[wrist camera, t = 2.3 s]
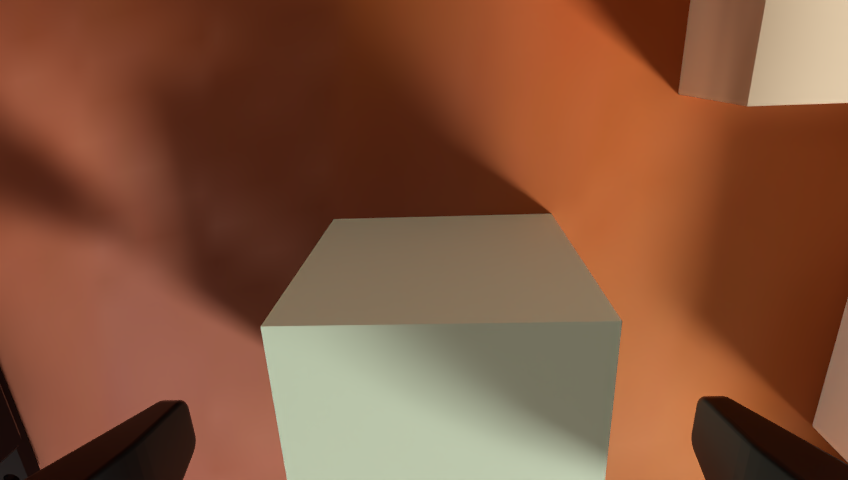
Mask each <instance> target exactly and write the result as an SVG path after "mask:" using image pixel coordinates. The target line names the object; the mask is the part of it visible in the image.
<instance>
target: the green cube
mask: <svg viewBox="0 0 848 480" xmlns="http://www.w3.org/2000/svg"><path fill="white" fill-rule="evenodd" d="M621 327H622V320H621V319H620V317H619V316H618V314H617V313H616V311H615V310H614V308H613V307H612V305H611V304H610V302H609V301H608V299H607V297H606V296H605V294H604V293H603V291H602V290H601V288H600V287H599V285H598V284H597V282H596V281H595V279H594V278H593V276H592V275H591V273H590V272H589V270H588V269H587V267H586V266H585V264H584V263H583V261H582V259H581V258H580V256H579V255H578V253H577V252H576V250H575V249H574V247H573V246H572V244H571V243H570V241H569V240H568V238H567V237H566V235H565V234H564V232H563V231H562V229H561V228H560V226H559V225H558V223H557V221H556V220H555V218H554V217H553V215H552V214H513V215H474V216H435V217H396V218H357V219H333V221H332V222H331V224H330V225H329V227H328V228H327V230H326V231H325V233H324V234H323V236H322V237H321V239H320V240H319V241H318V243H317V244H316V246H315V247H314V249H313V250H312V252H311V253H310V255H309V256H308V258H307V259H306V261H305V262H304V263H303V265H302V266H301V268H300V269H299V271H298V272H297V274H296V275H295V277H294V278H293V280H292V281H291V283H290V284H289V285H288V287H287V288H286V290H285V291H284V293H283V294H282V296H281V297H280V299H279V300H278V302H277V303H276V305H275V306H274V307H273V309H272V310H271V312H270V313H269V315H268V316H267V318H266V319H265V321H264V322H263V324H262V325H261V332H262V338H263V344H264V350H265V355H266V361H267V367H268V373H269V378H270V384H271V390H272V396H273V401H274V407H275V413H276V419H277V424H278V430H279V436H280V442H281V447H282V453H283V459H284V465H285V470H286V476H287V480H605V475H606V465H607V456H608V447H609V438H610V428H611V419H612V410H613V401H614V391H615V382H616V373H617V364H618V354H619V345H620V336H621Z"/></svg>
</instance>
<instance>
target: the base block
mask: <svg viewBox="0 0 848 480" xmlns="http://www.w3.org/2000/svg"><path fill="white" fill-rule="evenodd" d="M678 94H679V95H685V96H691V97H697V98H702V99H708V100H714V101H720V102H725V103H731V104H737V105H743V106H770V105H800V104H829V103H848V0H690V7H689V15H688V23H687V30H686V38H685V46H684V53H683V61H682V68H681V76H680V84H679V91H678Z"/></svg>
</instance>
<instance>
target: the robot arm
mask: <svg viewBox="0 0 848 480" xmlns="http://www.w3.org/2000/svg"><path fill="white" fill-rule="evenodd" d="M195 443H196V438H195V433H194V429H193V424H192V420H191V416H190V412H189V408H188V405H187V404H186V403H185V402H184V401H182V400H164V401H160V402H158V403H156V404H154V405H152V406H151V407H149V408H147V409H146V410H144V411H142V412H140V413H139V414H137V415H135V416H133V417H132V418H130V419H128V420H126V421H125V422H123V423H121V424H120V425H118V426H116V427H114V428H113V429H111V430H109V431H107V432H106V433H104V434H102V435H100V436H99V437H97V438H95V439H93V440H92V441H90V442H88V443H87V444H85V445H83V446H81V447H80V448H78V449H76V450H74V451H73V452H71V453H69V454H67V455H66V456H64V457H62V458H60V459H59V460H57V461H55V462H54V463H52V464H50V465H48V466H47V467H45V468H43V469H41V470H40V468H39V466H38V463H37V461H36V458H35V455H34V453H33V450H32V448H31V445H30V443H29V440H28V438H27V435H26V432H25V430H24V427H23V425H22V422H21V420H20V417H19V415H18V412H17V410H16V407H15V404H14V402H13V399H12V397H11V394H10V392H9V389H8V387H7V384H6V381H5V379H4V376H3V374H2V371H1V369H0V480H183V478H184V476H185V473H186V470H187V468H188V465H189V463H190V460H191V457H192V455H193V452H194V449H195ZM692 445H693V449H694V452H695V455H696V457H697V460H698V462H699V465H700V467H701V470H702V472H703V475H704V477H705V480H848V464H846V463H844V462H842V461H841V460H839V459H837V458H835V457H833V456H832V455H830V454H828V453H826V452H825V451H823V450H821V449H819V448H817V447H816V446H814V445H812V444H810V443H808V442H807V441H805V440H803V439H801V438H800V437H798V436H796V435H794V434H792V433H791V432H789V431H787V430H785V429H784V428H782V427H780V426H778V425H776V424H775V423H773V422H771V421H769V420H767V419H766V418H764V417H762V416H760V415H759V414H757V413H755V412H753V411H751V410H750V409H748V408H746V407H744V406H743V405H741V404H739V403H737V402H735V401H734V400H732V399H730V398H728V397H724V396H704V397H702V398H700V399H699V401H698V403H697V407H696V413H695V418H694V424H693V430H692Z"/></svg>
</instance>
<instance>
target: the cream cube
mask: <svg viewBox="0 0 848 480" xmlns="http://www.w3.org/2000/svg"><path fill="white" fill-rule="evenodd" d="M812 426H813V427H814V428H815V429H816V431H817V432H818V433H819V434H820V435H821V436H822V437H823V438H824V439H825V440H826V441H827V442H828V443H829V444H830V445H831V446H832V447H833V448H834V449H835V450H836V451H837V452H838V453H839V454H840V455H841V456H842V457H843V458H844V459H845V460H846V461H847V462H848V299H847V302H846V306H845V310H844V313H843V317H842V320H841V324H840V328H839V331H838V335H837V338H836V342H835V346H834V349H833V353H832V356H831V360H830V364H829V367H828V371H827V374H826V378H825V382H824V385H823V389H822V392H821V396H820V400H819V403H818V407H817V410H816V414H815V418H814V421H813V425H812Z"/></svg>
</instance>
